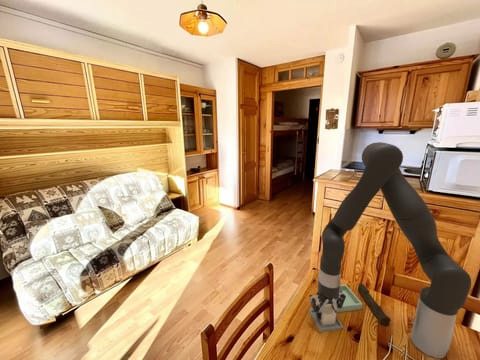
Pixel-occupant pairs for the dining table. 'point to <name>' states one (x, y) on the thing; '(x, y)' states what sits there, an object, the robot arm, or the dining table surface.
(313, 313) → the bin
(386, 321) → the hand tool
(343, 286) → the bin
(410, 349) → the dining table surface
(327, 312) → the beige block
